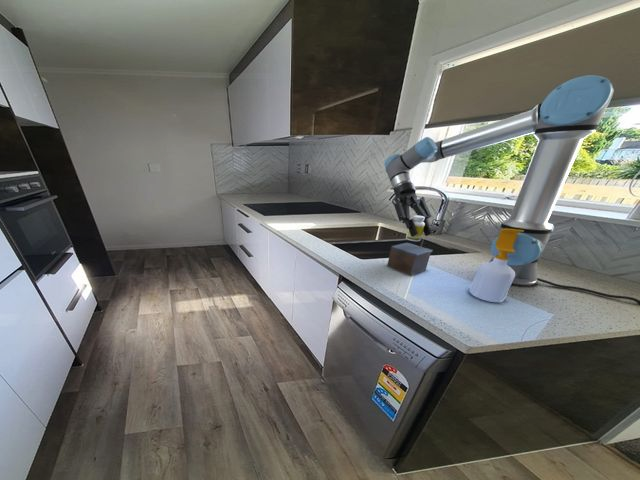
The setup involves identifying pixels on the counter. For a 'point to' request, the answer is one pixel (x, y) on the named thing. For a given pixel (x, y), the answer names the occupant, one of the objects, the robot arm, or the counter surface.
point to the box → (407, 262)
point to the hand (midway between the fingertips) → (421, 234)
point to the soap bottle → (496, 270)
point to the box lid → (412, 249)
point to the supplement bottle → (417, 228)
